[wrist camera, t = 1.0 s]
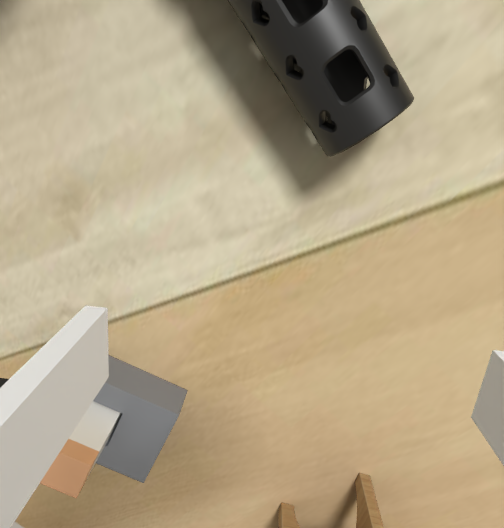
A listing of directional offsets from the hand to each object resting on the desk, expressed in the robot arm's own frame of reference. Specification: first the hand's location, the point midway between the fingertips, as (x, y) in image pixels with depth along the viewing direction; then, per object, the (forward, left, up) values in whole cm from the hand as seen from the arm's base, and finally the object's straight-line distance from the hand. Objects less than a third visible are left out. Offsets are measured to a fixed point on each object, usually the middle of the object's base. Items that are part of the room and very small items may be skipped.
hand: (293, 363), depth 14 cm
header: (-9, -34, -34) cm, 49 cm away
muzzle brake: (-9, +17, -34) cm, 39 cm away
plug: (-9, -34, -33) cm, 48 cm away
